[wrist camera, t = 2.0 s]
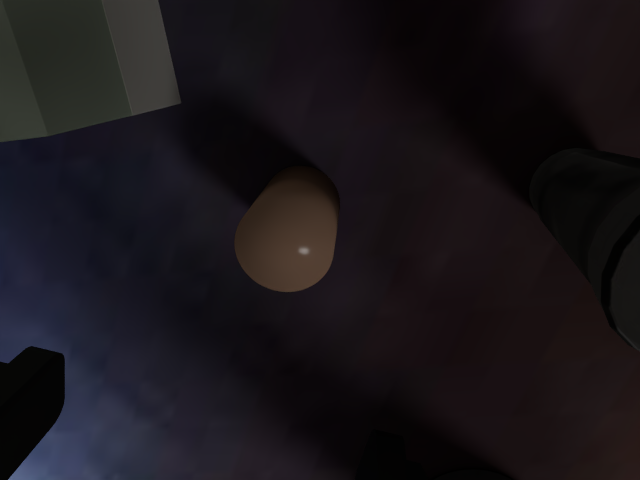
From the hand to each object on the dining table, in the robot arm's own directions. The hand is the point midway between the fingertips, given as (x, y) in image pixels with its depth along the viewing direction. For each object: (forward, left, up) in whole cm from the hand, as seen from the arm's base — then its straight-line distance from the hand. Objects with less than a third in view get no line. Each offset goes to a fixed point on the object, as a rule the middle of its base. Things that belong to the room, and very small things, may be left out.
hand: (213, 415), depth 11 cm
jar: (0, 0, -18) cm, 18 cm away
